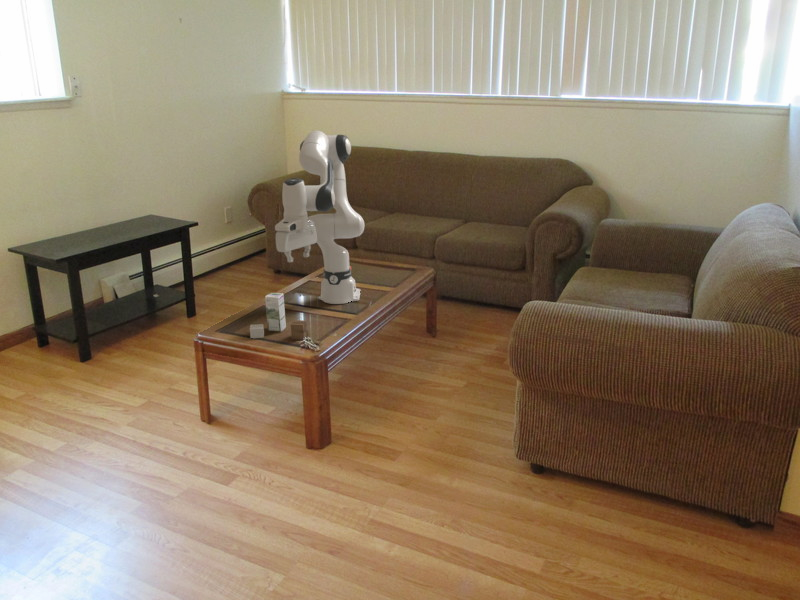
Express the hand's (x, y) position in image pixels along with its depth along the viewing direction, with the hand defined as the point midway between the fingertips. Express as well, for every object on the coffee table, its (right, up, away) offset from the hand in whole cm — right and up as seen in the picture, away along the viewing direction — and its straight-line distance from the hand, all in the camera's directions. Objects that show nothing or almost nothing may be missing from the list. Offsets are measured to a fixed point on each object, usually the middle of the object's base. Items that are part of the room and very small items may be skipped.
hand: (298, 259), depth 258 cm
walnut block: (0, -30, +5) cm, 30 cm away
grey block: (-17, -29, +8) cm, 35 cm away
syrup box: (-11, -27, +14) cm, 32 cm away
